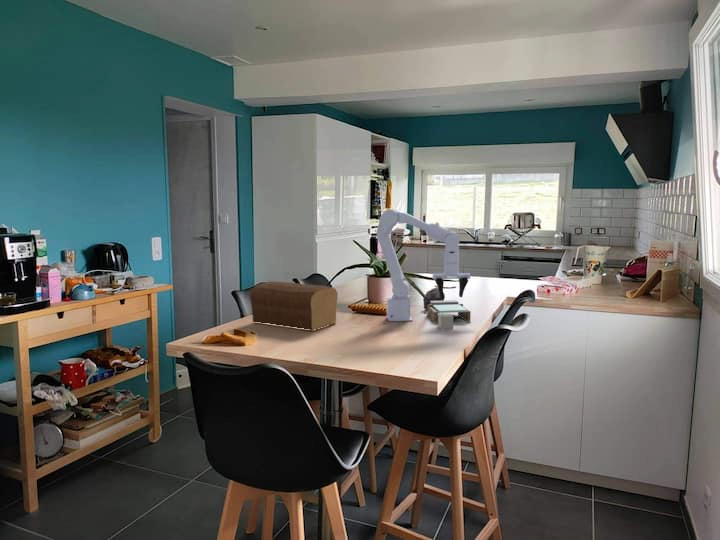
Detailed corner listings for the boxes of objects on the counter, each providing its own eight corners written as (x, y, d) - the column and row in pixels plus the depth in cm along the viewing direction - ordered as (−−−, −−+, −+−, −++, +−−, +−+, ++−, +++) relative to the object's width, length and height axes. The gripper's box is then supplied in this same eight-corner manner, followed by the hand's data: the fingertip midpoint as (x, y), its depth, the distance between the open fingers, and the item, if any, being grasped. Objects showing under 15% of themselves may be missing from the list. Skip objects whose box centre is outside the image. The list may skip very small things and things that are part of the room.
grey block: (441, 329, 199) (441, 316, 198) (438, 327, 203) (438, 313, 203) (453, 329, 199) (453, 316, 199) (449, 326, 204) (450, 313, 203)
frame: (426, 315, 224) (427, 303, 224) (461, 314, 225) (461, 302, 225) (434, 322, 210) (434, 310, 210) (470, 321, 212) (470, 309, 211)
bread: (279, 315, 227) (278, 277, 225) (339, 323, 211) (338, 282, 209) (249, 324, 211) (248, 283, 209) (310, 333, 196) (309, 289, 194)
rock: (420, 312, 236) (443, 313, 232) (419, 294, 233) (442, 294, 230) (426, 304, 246) (448, 304, 242) (425, 286, 244) (447, 286, 240)
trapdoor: (430, 306, 226) (430, 300, 226) (455, 305, 227) (455, 300, 227) (439, 314, 209) (439, 308, 209) (467, 314, 210) (467, 308, 210)
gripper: (435, 264, 206) (435, 299, 208) (472, 263, 207) (472, 298, 209) (431, 262, 213) (431, 296, 215) (467, 261, 214) (467, 295, 216)
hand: (451, 297), depth 212 cm, fingers open, 7 cm apart
